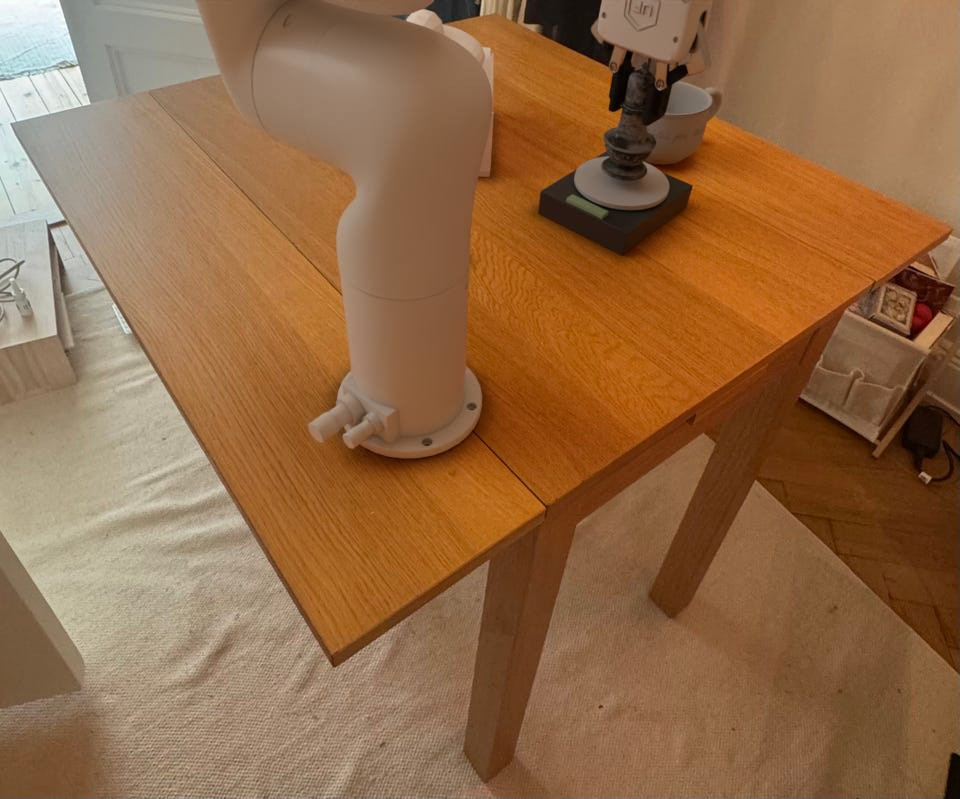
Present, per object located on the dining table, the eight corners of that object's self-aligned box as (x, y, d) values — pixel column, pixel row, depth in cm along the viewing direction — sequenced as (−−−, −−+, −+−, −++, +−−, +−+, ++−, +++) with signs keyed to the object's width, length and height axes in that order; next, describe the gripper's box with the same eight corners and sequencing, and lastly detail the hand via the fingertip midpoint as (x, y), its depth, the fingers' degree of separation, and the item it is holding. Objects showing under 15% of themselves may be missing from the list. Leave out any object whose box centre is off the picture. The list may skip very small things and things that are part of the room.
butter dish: (490, 177, 92) (497, 45, 80) (345, 170, 91) (332, 37, 80) (491, 112, 104) (498, -11, 92) (364, 105, 103) (354, -18, 92)
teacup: (635, 178, 93) (648, 117, 87) (603, 137, 100) (613, 78, 94) (733, 167, 96) (752, 107, 90) (695, 128, 103) (710, 70, 97)
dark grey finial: (648, 158, 86) (672, 53, 77) (651, 184, 82) (676, 76, 73) (598, 153, 86) (616, 48, 77) (598, 179, 82) (617, 71, 73)
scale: (622, 256, 81) (628, 227, 78) (537, 213, 86) (541, 184, 84) (686, 207, 89) (694, 179, 86) (605, 170, 94) (610, 142, 91)
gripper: (576, -96, 67) (553, 100, 81) (738, -53, 60) (683, 154, 74) (621, -108, 71) (592, 80, 85) (778, -69, 64) (719, 129, 78)
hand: (635, 112), depth 79 cm, fingers closed on dark grey finial, 3 cm apart
